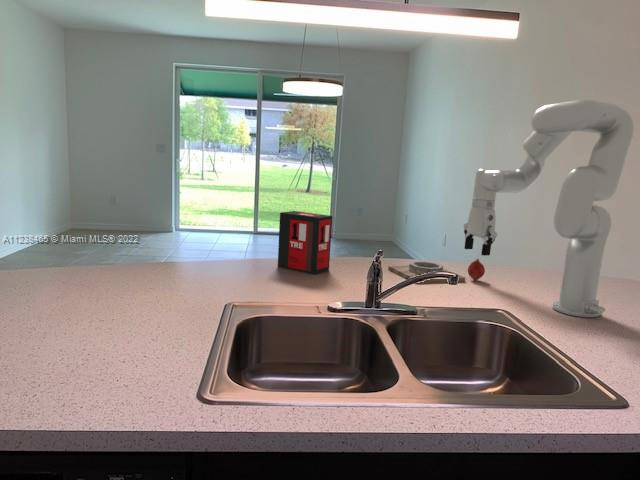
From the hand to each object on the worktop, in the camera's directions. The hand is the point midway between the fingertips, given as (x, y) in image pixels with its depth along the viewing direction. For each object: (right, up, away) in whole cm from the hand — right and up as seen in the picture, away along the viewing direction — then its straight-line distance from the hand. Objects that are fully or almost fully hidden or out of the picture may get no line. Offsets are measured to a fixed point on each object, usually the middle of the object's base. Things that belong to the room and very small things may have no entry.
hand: (476, 252), depth 179 cm
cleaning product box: (-62, -6, +4) cm, 62 cm away
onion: (0, -10, +1) cm, 11 cm away
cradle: (-17, -9, +4) cm, 20 cm away
